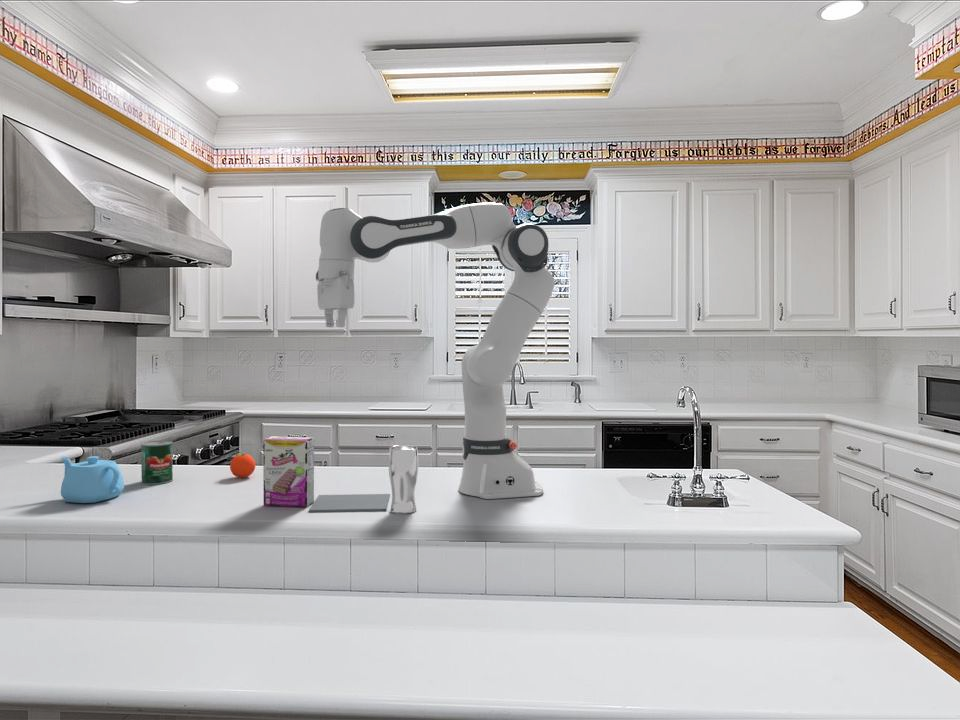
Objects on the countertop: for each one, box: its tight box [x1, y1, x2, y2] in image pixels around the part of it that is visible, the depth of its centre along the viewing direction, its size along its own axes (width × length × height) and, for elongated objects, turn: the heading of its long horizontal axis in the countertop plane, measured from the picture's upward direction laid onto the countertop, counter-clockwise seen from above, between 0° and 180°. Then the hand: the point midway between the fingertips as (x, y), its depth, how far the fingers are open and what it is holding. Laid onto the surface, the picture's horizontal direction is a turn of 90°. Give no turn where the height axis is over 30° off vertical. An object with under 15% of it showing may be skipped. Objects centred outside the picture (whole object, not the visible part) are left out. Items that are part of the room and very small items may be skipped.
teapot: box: [60, 455, 125, 504], centre depth 159 cm, size 13×11×18 cm
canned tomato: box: [140, 439, 174, 486], centre depth 178 cm, size 8×8×11 cm
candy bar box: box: [262, 435, 315, 508], centre depth 154 cm, size 11×5×16 cm, turn 84°
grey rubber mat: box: [308, 493, 391, 513], centre depth 156 cm, size 18×14×1 cm
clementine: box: [229, 453, 256, 479], centre depth 184 cm, size 8×7×7 cm
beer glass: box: [388, 444, 419, 515], centre depth 150 cm, size 7×7×15 cm
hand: (334, 327), depth 162 cm, fingers open, 8 cm apart
